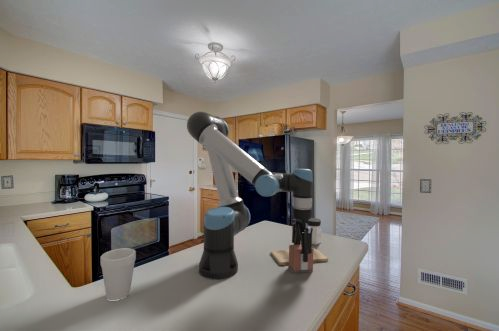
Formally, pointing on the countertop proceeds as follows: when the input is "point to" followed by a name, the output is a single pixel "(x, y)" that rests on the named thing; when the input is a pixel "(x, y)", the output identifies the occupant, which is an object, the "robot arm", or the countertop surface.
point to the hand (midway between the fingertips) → (300, 265)
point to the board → (283, 256)
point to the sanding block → (298, 259)
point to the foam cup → (118, 272)
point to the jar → (315, 230)
